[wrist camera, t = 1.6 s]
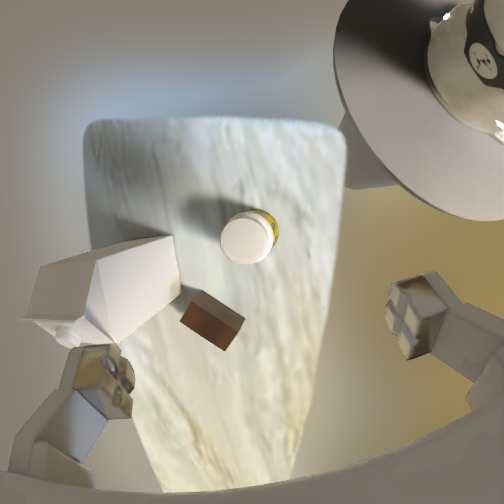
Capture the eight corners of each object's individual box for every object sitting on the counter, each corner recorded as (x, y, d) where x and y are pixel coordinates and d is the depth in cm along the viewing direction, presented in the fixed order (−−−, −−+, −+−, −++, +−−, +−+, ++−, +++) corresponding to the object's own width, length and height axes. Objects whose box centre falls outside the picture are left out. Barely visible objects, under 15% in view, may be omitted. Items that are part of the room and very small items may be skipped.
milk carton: (124, 241, 38) (8, 276, 19) (173, 234, 36) (62, 270, 18) (134, 295, 39) (31, 358, 20) (183, 292, 37) (89, 368, 19)
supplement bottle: (274, 256, 35) (264, 275, 27) (233, 247, 35) (211, 263, 27) (283, 213, 34) (275, 219, 26) (240, 205, 34) (220, 208, 26)
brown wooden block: (191, 309, 38) (179, 321, 34) (202, 290, 37) (191, 301, 33) (232, 336, 37) (224, 351, 33) (245, 318, 37) (238, 332, 33)
